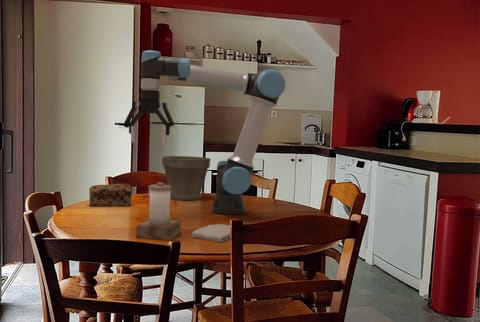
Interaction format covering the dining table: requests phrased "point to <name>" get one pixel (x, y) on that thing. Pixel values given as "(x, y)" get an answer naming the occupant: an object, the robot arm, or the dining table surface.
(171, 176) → the plant pot
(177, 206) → the dining table surface
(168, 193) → the canister
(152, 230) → the base block
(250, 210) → the dining table surface
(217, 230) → the washcloth
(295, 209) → the dining table surface
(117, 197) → the bread
